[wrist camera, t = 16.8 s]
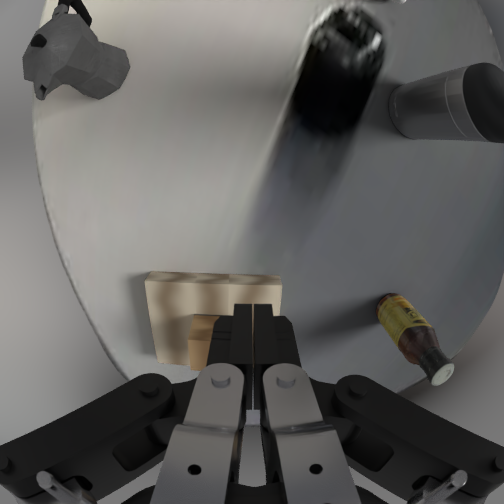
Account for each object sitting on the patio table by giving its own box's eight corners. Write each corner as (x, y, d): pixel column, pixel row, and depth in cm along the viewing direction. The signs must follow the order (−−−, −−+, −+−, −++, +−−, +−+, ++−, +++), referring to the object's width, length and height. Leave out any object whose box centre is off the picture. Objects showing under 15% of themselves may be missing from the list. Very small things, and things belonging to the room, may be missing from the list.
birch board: (279, 275, 43) (282, 285, 39) (271, 355, 48) (273, 367, 45) (151, 271, 42) (144, 280, 38) (162, 350, 47) (158, 362, 44)
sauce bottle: (408, 300, 46) (467, 365, 27) (386, 325, 47) (437, 396, 28) (389, 284, 44) (453, 351, 25) (366, 310, 46) (419, 387, 27)
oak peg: (232, 305, 44) (230, 342, 35) (231, 333, 45) (230, 372, 36) (197, 303, 43) (187, 339, 34) (198, 332, 45) (190, 369, 36)
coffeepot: (126, 108, 33) (54, 85, 16) (75, 115, 33) (-4, 107, 16) (139, 21, 28) (91, -35, 11) (89, 32, 27) (28, -6, 11)
